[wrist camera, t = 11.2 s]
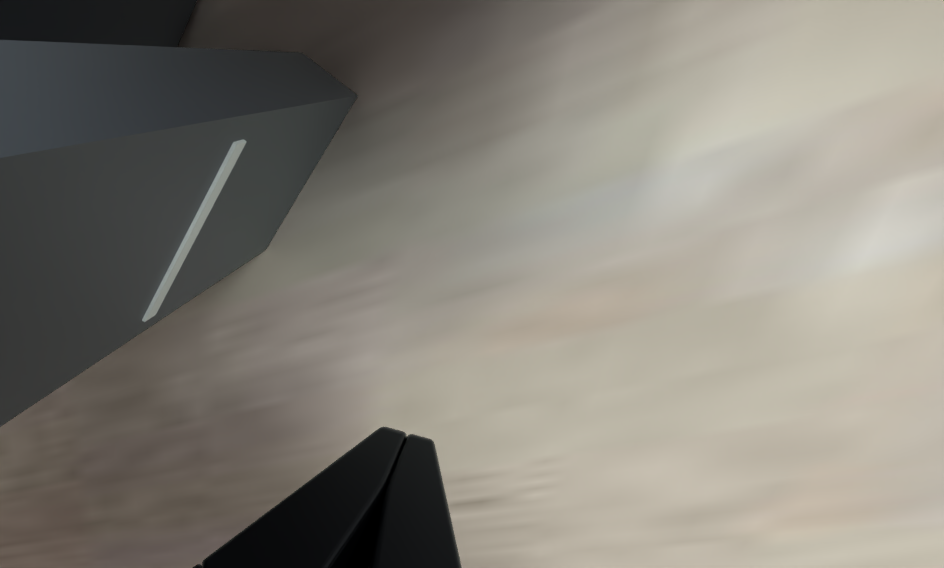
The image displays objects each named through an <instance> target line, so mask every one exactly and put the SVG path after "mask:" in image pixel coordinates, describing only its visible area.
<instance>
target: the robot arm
mask: <svg viewBox="0 0 944 568" xmlns="http://www.w3.org/2000/svg"><path fill="white" fill-rule="evenodd" d="M193 568H461V563H460V558H459V554H458V549H457V545H456V540H455V536H454V531H453V526H452V522H451V517H450V513H449V508H448V504H447V499H446V494H445V490H444V485H443V481H442V476H441V472H440V467H439V462H438V458H437V453H436V449H435V444H434V442H433V441H432V440H431V439H428V438H425V437H421V436H417V435H414V434H410V435H408V436H406V433H405V432H403V431H399V430H395V429H392V428H388V427H381V428H379V429H378V430H376V431H375V432H374V433H372V434H371V435H370V436H368V437H367V438H366V439H364V440H363V441H362V442H360V443H359V444H358V445H356V446H355V447H354V448H352V449H351V450H350V451H348V452H347V453H346V454H344V455H343V456H342V457H340V458H339V459H338V460H336V461H335V462H334V463H332V464H331V465H330V466H328V467H327V468H326V469H324V470H323V471H322V472H320V473H319V474H318V475H316V476H315V477H314V478H312V479H311V480H310V481H308V482H307V483H306V484H304V485H303V486H302V487H300V488H299V489H298V490H296V491H295V492H294V493H292V494H291V495H290V496H288V497H287V498H286V499H284V500H283V501H282V502H280V503H279V504H278V505H276V506H275V507H274V508H272V509H271V510H270V511H268V512H267V513H266V514H264V515H263V516H262V517H260V518H259V519H258V520H256V521H255V522H254V523H252V524H251V525H250V526H248V527H247V528H246V529H244V530H243V531H242V532H240V533H239V534H238V535H236V536H235V537H234V538H232V539H231V540H230V541H228V542H227V543H226V544H224V545H223V546H222V547H220V548H219V549H218V550H216V551H215V552H214V553H212V554H211V555H210V556H208V557H207V558H206V559H204V560H203V562H202V565H200V564H198V565H196V566H194V567H193Z"/></svg>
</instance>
